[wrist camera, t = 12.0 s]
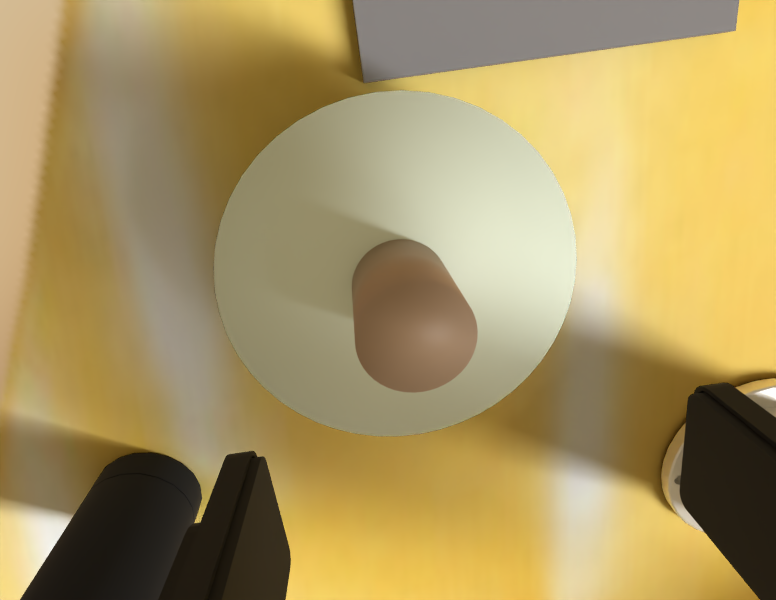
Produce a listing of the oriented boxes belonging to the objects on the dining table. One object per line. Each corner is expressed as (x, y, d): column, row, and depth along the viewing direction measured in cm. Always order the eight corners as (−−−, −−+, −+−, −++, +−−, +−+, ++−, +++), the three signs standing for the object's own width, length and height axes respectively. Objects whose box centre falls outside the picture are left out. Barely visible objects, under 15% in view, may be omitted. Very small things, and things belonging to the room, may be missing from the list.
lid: (567, 65, 19) (659, 51, 14) (566, 397, 25) (630, 482, 19) (174, 120, 19) (104, 129, 13) (263, 446, 24) (240, 548, 19)
